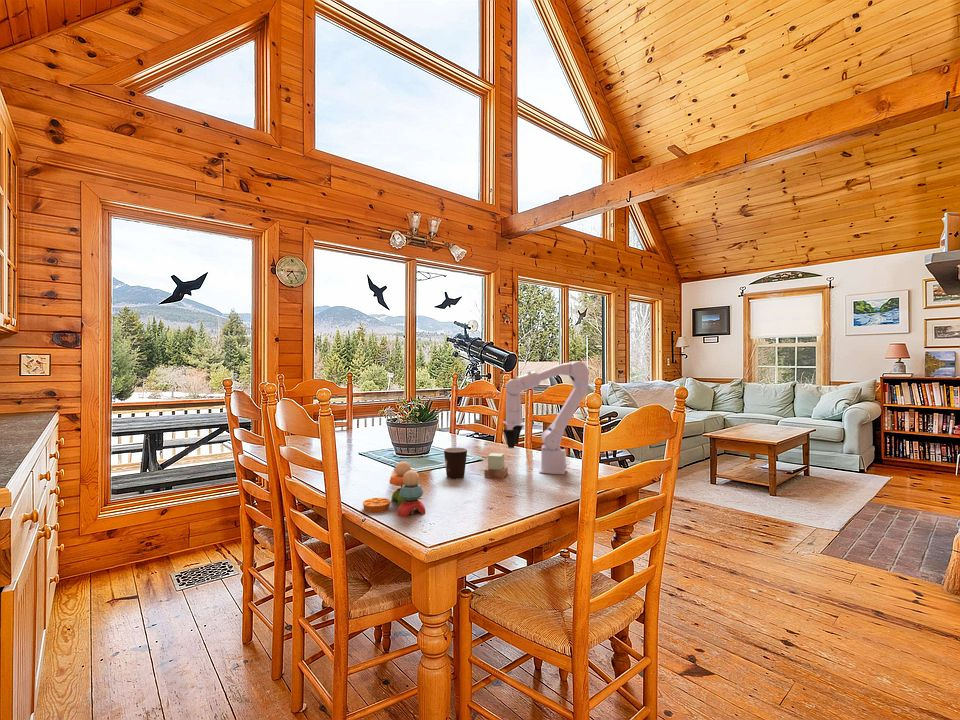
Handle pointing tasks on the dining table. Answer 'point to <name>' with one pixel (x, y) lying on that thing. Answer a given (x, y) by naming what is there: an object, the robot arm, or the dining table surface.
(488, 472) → the walnut block
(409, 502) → the stacking toy
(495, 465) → the green cube
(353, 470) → the dining table surface
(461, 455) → the coffee mug
